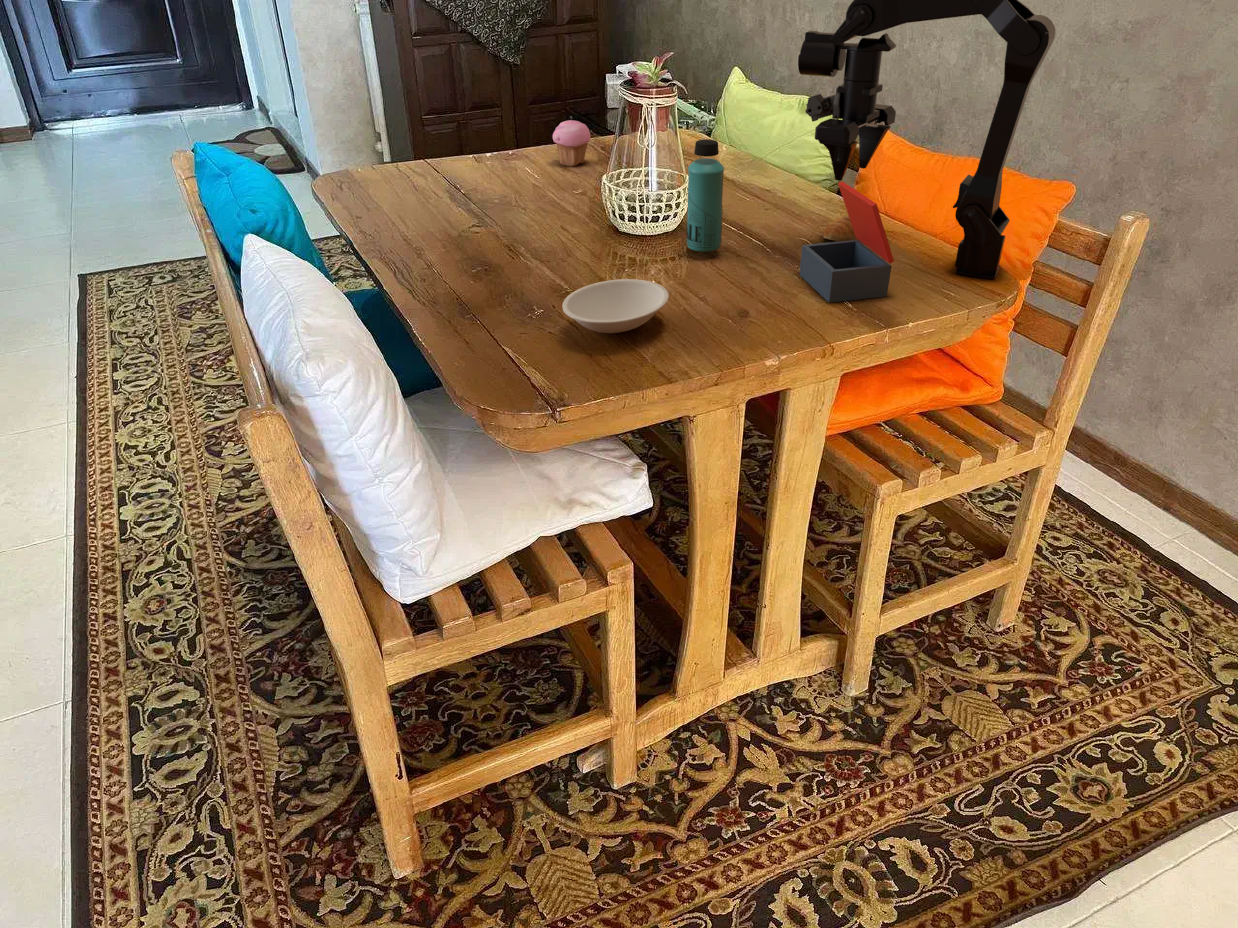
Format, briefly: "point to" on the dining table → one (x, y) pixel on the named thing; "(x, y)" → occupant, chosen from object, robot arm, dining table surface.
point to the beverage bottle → (705, 198)
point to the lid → (866, 221)
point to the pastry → (840, 230)
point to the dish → (615, 304)
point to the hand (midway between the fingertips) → (850, 174)
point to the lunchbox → (844, 271)
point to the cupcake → (571, 142)
